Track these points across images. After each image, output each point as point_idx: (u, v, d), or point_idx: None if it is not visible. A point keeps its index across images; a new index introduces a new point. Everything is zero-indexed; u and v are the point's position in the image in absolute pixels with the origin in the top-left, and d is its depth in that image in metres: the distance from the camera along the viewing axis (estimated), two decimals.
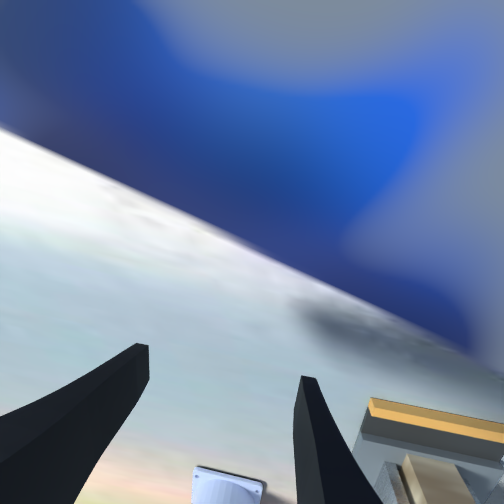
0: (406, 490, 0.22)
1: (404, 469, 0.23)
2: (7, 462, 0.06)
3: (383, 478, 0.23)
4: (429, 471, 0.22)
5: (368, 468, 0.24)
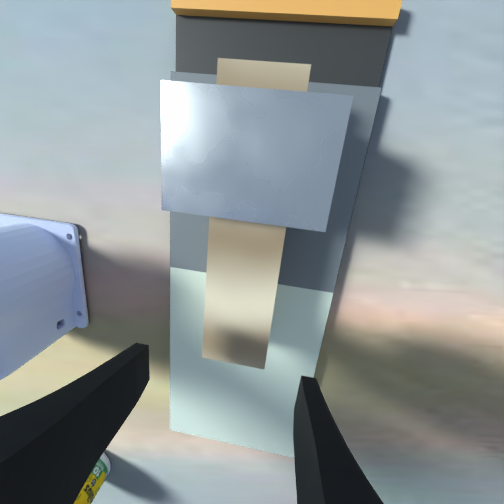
0: None
1: None
2: (7, 462, 0.06)
3: None
4: None
5: None
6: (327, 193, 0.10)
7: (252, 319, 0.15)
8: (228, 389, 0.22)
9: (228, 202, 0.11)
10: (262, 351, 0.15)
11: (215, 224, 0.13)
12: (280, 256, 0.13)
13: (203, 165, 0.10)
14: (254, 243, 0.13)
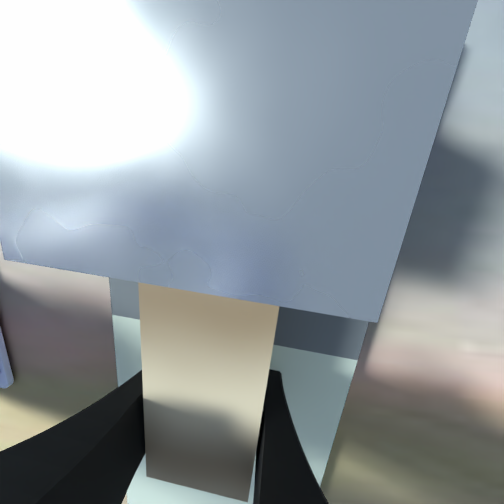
0: None
1: None
2: (67, 478, 0.06)
3: None
4: None
5: None
6: (389, 232, 0.04)
7: (225, 430, 0.08)
8: None
9: (144, 248, 0.05)
10: (243, 477, 0.09)
11: None
12: (272, 333, 0.07)
13: (75, 159, 0.04)
14: (223, 309, 0.07)
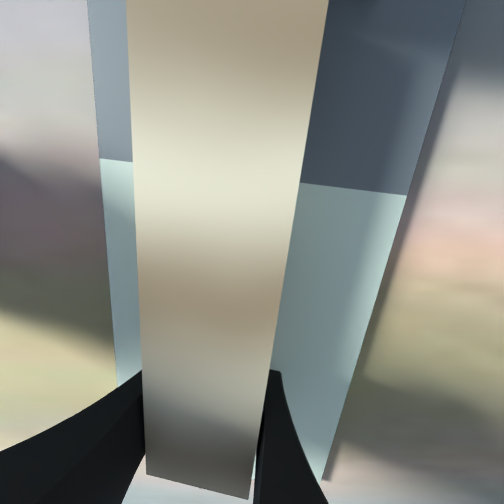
0: None
1: None
2: (66, 478, 0.06)
3: None
4: None
5: None
6: None
7: (226, 427, 0.08)
8: None
9: None
10: (244, 474, 0.09)
11: (149, 268, 0.07)
12: (273, 329, 0.07)
13: None
14: (223, 305, 0.07)
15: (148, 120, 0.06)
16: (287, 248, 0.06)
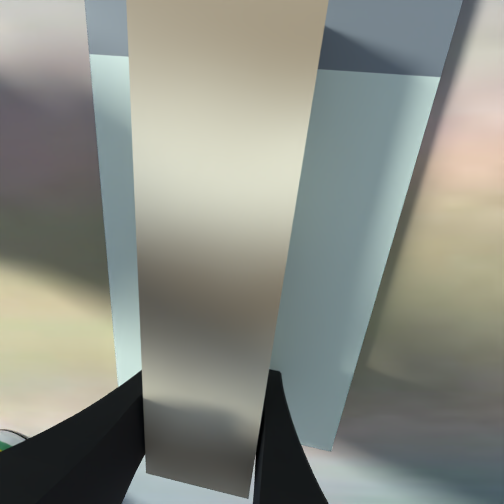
0: None
1: None
2: (67, 478, 0.06)
3: None
4: None
5: None
6: None
7: (225, 425, 0.08)
8: None
9: None
10: (244, 473, 0.09)
11: (149, 266, 0.07)
12: (273, 327, 0.07)
13: None
14: (223, 303, 0.07)
15: (148, 116, 0.06)
16: (287, 245, 0.06)
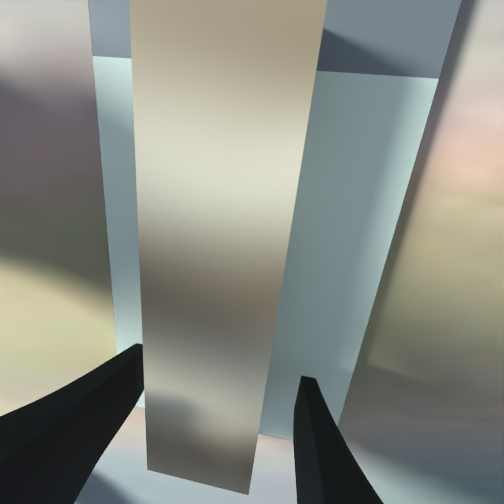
0: None
1: None
2: (7, 462, 0.06)
3: None
4: None
5: None
6: None
7: (226, 422, 0.08)
8: None
9: None
10: (244, 469, 0.09)
11: (151, 264, 0.07)
12: (273, 324, 0.07)
13: None
14: (224, 300, 0.07)
15: (150, 118, 0.06)
16: (287, 244, 0.06)
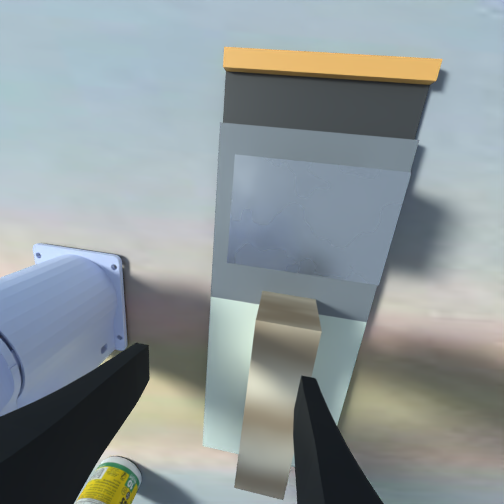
0: None
1: None
2: (7, 462, 0.06)
3: None
4: (279, 301, 0.18)
5: None
6: (382, 252, 0.11)
7: (275, 468, 0.19)
8: None
9: (290, 258, 0.12)
10: (281, 488, 0.20)
11: (249, 409, 0.18)
12: None
13: (268, 226, 0.12)
14: (277, 423, 0.18)
15: (256, 368, 0.17)
16: None
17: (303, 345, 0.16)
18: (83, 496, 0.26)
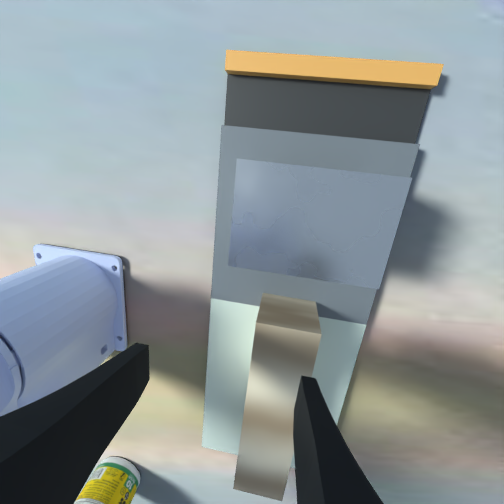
0: None
1: None
2: (7, 462, 0.06)
3: None
4: (280, 303, 0.18)
5: None
6: (383, 257, 0.11)
7: (274, 469, 0.19)
8: None
9: (290, 261, 0.12)
10: (280, 489, 0.20)
11: (248, 411, 0.18)
12: None
13: (270, 230, 0.12)
14: (277, 425, 0.18)
15: (255, 370, 0.17)
16: None
17: (302, 348, 0.16)
18: (82, 496, 0.26)
